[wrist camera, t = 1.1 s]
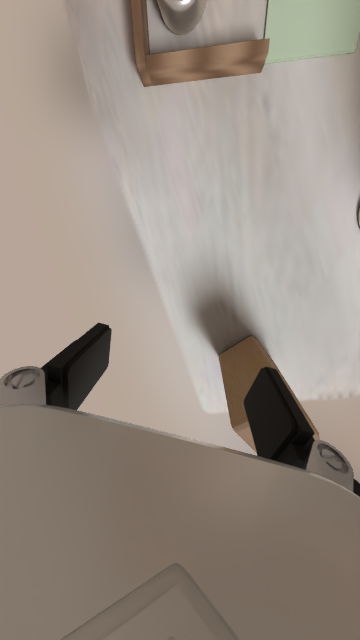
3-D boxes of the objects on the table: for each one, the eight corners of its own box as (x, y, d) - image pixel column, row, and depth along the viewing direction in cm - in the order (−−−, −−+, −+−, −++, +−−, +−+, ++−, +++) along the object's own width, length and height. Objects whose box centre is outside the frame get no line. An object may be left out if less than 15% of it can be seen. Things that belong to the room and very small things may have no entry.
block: (239, 379, 48) (264, 463, 30) (216, 354, 46) (229, 430, 27) (273, 360, 45) (325, 442, 27) (251, 332, 42) (292, 402, 24)
